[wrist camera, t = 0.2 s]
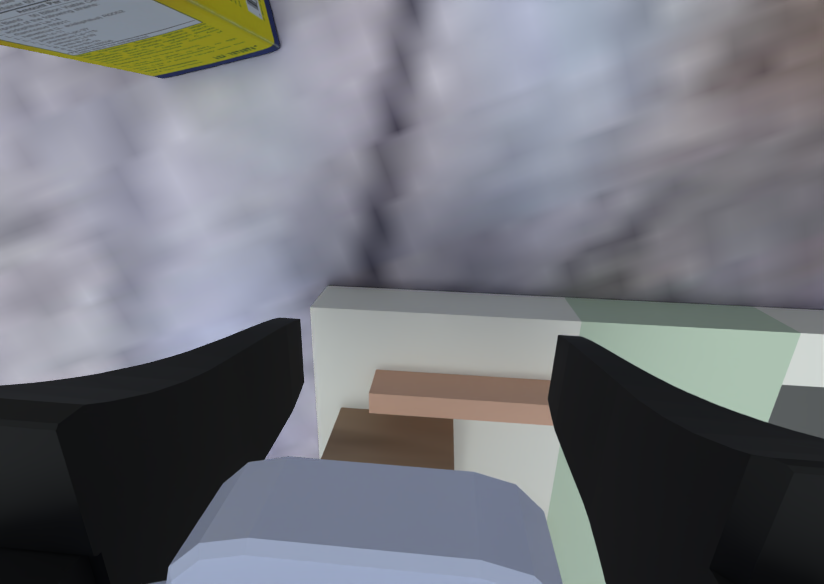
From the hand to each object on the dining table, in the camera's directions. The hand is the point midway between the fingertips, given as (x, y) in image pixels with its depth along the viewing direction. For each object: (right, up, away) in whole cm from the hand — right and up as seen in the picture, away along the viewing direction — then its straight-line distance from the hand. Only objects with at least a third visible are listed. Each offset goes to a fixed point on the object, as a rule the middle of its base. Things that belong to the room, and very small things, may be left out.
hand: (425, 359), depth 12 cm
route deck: (+9, -6, +12) cm, 16 cm away
